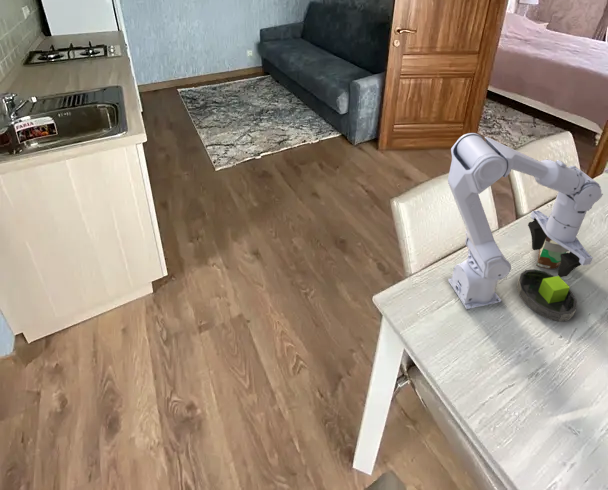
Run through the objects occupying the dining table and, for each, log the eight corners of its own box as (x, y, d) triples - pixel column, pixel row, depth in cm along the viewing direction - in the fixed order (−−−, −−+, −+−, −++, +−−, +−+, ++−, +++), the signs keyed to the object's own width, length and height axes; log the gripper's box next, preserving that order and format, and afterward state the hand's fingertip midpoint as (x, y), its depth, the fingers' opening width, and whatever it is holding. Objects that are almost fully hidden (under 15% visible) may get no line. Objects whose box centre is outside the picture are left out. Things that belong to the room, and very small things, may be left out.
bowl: (571, 333, 77) (575, 324, 76) (512, 302, 84) (515, 293, 82) (574, 295, 85) (578, 287, 84) (520, 269, 92) (523, 261, 91)
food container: (563, 283, 88) (575, 254, 85) (535, 270, 92) (545, 242, 88) (565, 251, 97) (576, 224, 94) (539, 241, 101) (549, 214, 97)
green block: (548, 303, 83) (554, 290, 81) (538, 291, 86) (543, 278, 84) (564, 300, 84) (570, 287, 82) (553, 288, 87) (558, 275, 85)
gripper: (612, 240, 72) (590, 285, 78) (553, 194, 86) (539, 236, 91) (583, 245, 71) (564, 290, 76) (529, 198, 84) (515, 239, 90)
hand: (548, 261), depth 84 cm, fingers open, 7 cm apart
